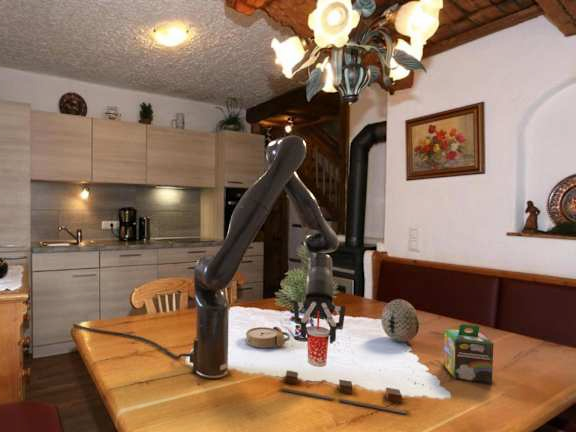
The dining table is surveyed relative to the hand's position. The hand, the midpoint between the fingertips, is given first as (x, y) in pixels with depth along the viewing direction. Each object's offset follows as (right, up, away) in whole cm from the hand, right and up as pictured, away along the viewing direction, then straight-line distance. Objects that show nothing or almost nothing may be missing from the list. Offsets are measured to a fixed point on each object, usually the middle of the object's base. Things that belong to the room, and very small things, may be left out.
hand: (317, 340), depth 92 cm
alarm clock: (-6, -12, +31) cm, 34 cm away
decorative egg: (+42, -13, +35) cm, 56 cm away
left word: (-3, -13, 0) cm, 13 cm away
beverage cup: (0, -7, +2) cm, 7 cm away
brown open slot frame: (+11, -13, -5) cm, 18 cm away
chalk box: (+46, -13, +10) cm, 49 cm away
